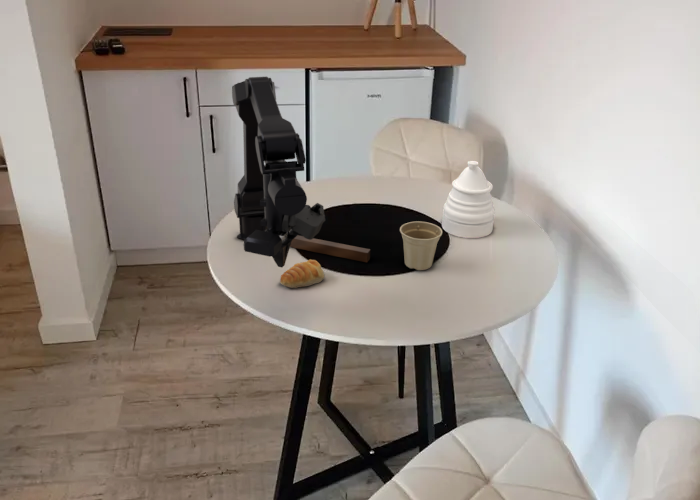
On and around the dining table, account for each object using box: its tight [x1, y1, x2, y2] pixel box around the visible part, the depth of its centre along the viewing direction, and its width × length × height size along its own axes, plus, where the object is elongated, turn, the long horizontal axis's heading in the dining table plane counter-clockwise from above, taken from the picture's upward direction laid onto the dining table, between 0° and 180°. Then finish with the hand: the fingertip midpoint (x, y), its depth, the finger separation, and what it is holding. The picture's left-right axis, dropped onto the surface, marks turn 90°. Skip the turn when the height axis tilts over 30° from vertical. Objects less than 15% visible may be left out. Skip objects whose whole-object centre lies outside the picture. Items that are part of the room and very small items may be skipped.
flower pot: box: [399, 220, 443, 271], centre depth 153 cm, size 9×9×9 cm
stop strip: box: [290, 234, 371, 263], centre depth 158 cm, size 20×2×2 cm, turn 69°
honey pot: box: [441, 160, 496, 239], centre depth 169 cm, size 13×13×18 cm
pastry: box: [279, 258, 325, 289], centre depth 146 cm, size 9×7×4 cm
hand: (281, 266), depth 135 cm, fingers closed
